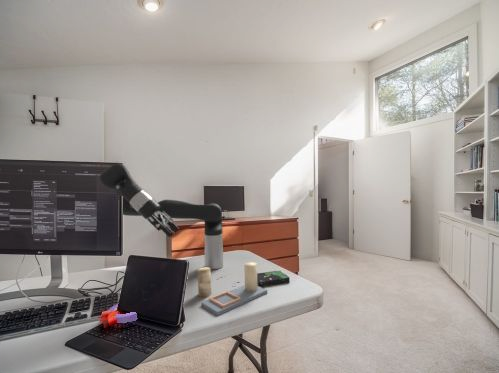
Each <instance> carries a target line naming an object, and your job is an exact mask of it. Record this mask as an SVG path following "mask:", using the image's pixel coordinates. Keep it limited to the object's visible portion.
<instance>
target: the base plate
mask: <svg viewBox="0 0 499 373" xmlns="http://www.w3.org/2000/svg"><path fill="white" fill-rule="evenodd" d="M243 267H244V284H243V285H242V286H239V287H237V288H233V289H231V290H229V291H224V292H220V293H219V294H217V295H214V296H212V297H209V299H206V300H203V301H201V302H200V306H202V307H203V308H205V309H206V310H208V311H210V313H212V314H214V315H216V316H220V315H222V314H224V313H226V312H229V311H231V310H234V309H236V308H237V307H240V306H242V305H244V304H247V303H248V302H251V301H252V300H255V299H257V298H259V297H261V296H264V295H265V294H268V289H266V288H264V287H259V286H257V274H258V263H257V262H245V263H244V265H243Z"/></svg>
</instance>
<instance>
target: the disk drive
mask: <svg viewBox="0 0 499 373" xmlns="http://www.w3.org/2000/svg"><path fill="white" fill-rule="evenodd" d="M290 282H291V281H290V276H288V275H287V274H286V273H284V272H282V271H281V270H273V271H267V272H259V273H258V272H257V286H259V287H261V288H264V287H268V286H269V287H270V286H275V285H276V286H277V285H283V284H288V283H290Z"/></svg>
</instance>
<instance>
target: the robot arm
mask: <svg viewBox="0 0 499 373" xmlns="http://www.w3.org/2000/svg"><path fill="white" fill-rule="evenodd" d="M99 181H100V183H101V184H102V185H103V186H104V187H106V188H107V189H110V190H111V191H112V193H113V194H114V195H115V196H116V195H118V196H123V216H132V217H142V218H143V219H145V220H147V222H149V223H150V224H151V225H152V226H153V227H154V228H155V230H156V231H161V232H163V233H164V234H165V235H166V236H167V237H169V238H172V237H173V235H174V234H176V233H178V232H179V230H180V227H178V226H177V225H176V224H175V222H174V219H176V220H177V219H183V220H184V219H185V220H189V219H190V220H191V219H194V220H199V221H203V222H204V250H203V251H204V266H205V267H209V268H210V269H211V270H218V269H222V268H224V249H223V247H224V246H223V220H222V218H223V217H222V215H223V212H222V208H221V206H220V205H219V204H217V203H213V202H211V203H209V204H196V203H195V204H194V203H190V202H186V201H181V200H175V199H162V200H161V201H160V200H159V201H158V202H157V201H156V200H155V199H154V198H153V197H152V196H151V195H150V194H149V193H147V192H146V191H145V190H144V189H143V188H142V187H141V186H139V184H137V183H136V181H135V180H134V179H133V176H131V174H130V171H129V170H128V168H127V167H126V166H125V164H124V163H123V164H122V163H120V162H117V163H113V164H112V165H111V166H109V167H108V168H107V169H105V170H104V171H102V172H101V173H100V174H99ZM118 196H117V197H118Z"/></svg>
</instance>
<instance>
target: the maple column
mask: <svg viewBox="0 0 499 373" xmlns="http://www.w3.org/2000/svg"><path fill="white" fill-rule="evenodd" d="M211 270H212V269H210V268H209V267H206V266H205V267H199V268H197V286H198V288H197V290H198V292H197V293H198V297H200V298H208V297H210V296H211V295H212V277H211V275H212V274H211Z"/></svg>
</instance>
